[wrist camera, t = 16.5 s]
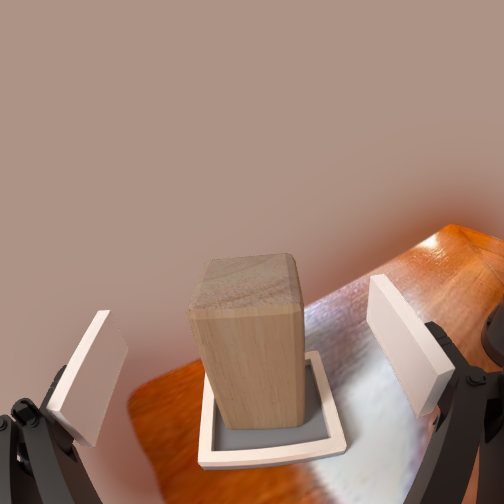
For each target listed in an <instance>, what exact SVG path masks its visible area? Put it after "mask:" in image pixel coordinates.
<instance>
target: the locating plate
mask: <svg viewBox="0 0 504 504" xmlns="http://www.w3.org/2000/svg"><path fill="white" fill-rule="evenodd" d="M346 446H347V444H346V441H345V437H344V434H343V430H342V427H341V423H340V420H339V417H338V413H337V410H336V406H335V403H334V400H333V396H332V393H331V390H330V386H329V383H328V380H327V376H326V373H325V370H324V367H323V364H322V360H321V357H320V354H319V351H318V350H315V351H309V352H305V417H304V422H303V424H302V425H301V426H299V427H294V428H281V429H262V430H231V429H228V428H226V426H225V423H224V421H223V418H222V415H221V413H220V410H219V407H218V405H217V402H216V399H215V397H214V394H213V391H212V388H211V386H210V383H209V380H208V377H207V374H206V373H205V383H204V394H203V405H202V416H201V428H200V440H199V453H198V463H199V464H200V466H201V467H202V468H203V470H230V469H249V468H261V467H272V466H280V465H288V464H295V463H302V462H308V461H313V460H319V459H324V458H329V457H334V456H338V455H342V454H344V452H345V449H346Z"/></svg>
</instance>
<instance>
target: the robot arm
mask: <svg viewBox="0 0 504 504" xmlns="http://www.w3.org/2000/svg"><path fill="white" fill-rule="evenodd" d="M366 321H367V323H368V324H369V326H370V328H371V330H372V332H373V333H374V335H375V337H376V339H377V341H378V343H379V344H380V346H381V348H382V350H383V352H384V354H385V356H386V358H387V359H388V361H389V363H390V365H391V367H392V369H393V371H394V373H395V375H396V377H397V379H398V381H399V383H400V385H401V387H402V389H403V391H404V393H405V395H406V397H407V399H408V401H409V403H410V405H411V407H412V409H413V412H414V414H415V416H416V418H420V417H422V416H425V415H427V414H430V413H432V412H433V411H434V409H435V407H436V405H438V406H439V408H440V410H441V411H440V413H439V414H438V416H437V418H436V419H435V421H434V423H433V425H435V428H434V431H433V434H432V437H431V439H430V442H429V445H428V448H427V451H426V453H425V456H424V458H423V461H422V463H421V466H420V468H419V471H418V473H417V475H416V478H415V480H414V482H413V484H412V486H411V489H410V491H409V493H408V495H407V497H406V499H405V501H404V503H403V504H461V503H462V500H463V498H464V495H465V492H466V489H467V486H468V483H469V480H470V477H471V473H472V470H473V466H474V463H475V459H476V455H477V451H478V447H479V478H478V491H477V500H476V504H504V295H503V298H502V299H501V301H500V302H499V303H498V305H497V306H496V307H495V309H494V310H493V311H492V313H491V314H490V315H489V317H488V318H487V320H486V322H485V324H484V327H483V329H482V333H481V341H482V345H483V347H484V349H485V351H486V353H487V354H488V356H489V357H490V358H491V359H492V360H493V361H494V362H495V363H496V364H498V365H499V366H501V367H503V369H502V371H499V372H492V373H486V372H485V371H484V370H483V369H481V368H479V367H476V366H470V365H469V364H468V362H467V361H466V359H465V358H464V357H463V355H462V354H461V353H460V351H459V350H458V349H457V347H456V346H455V345H454V343H452V341H451V339H450V338H449V337H447V334H446V333H445V331H444V330H443V329H442V328H441V327H440V326H439V325H437V324H435V323H434V322H432V321H431V322H428V323H425V324H424V323H423V322H422V321H421V319H420V318H419V317H418V315H417V314H416V313H415V312H414V310H413V309H412V308H411V306H410V305H409V304H408V303H407V301H406V300H405V299H404V297H403V296H402V295H401V294H400V292H399V291H398V290H397V289H396V287H395V286H394V285H393V284H392V283H391V281H390V280H389V279H388V278H387V276H386V275H385V274H379V275H374V276H370V288H369V299H368V308H367V317H366ZM128 350H129V348H128V346H127V344H126V342H125V340H124V338H123V336H122V334H121V332H120V330H119V328H118V326H117V324H116V322H115V319H114V317H113V315H112V313H111V310H105V311H98V313H97V314H96V316H95V318H94V319H93V321H92V323H91V325H90V326H89V328H88V330H87V331H86V333H85V335H84V336H83V338H82V340H81V342H80V344H79V345H78V347H77V349H76V351H75V352H74V354H73V356H72V358H71V360H70V362H69V363H68V365H64V366H63V368H61V369H60V370H59V372H58V373H57V375H56V377H55V378H54V382H52V384H51V386H50V387H51V388H49V390H48V392H47V394H46V396H45V398H44V400H43V402H42V404H41V406H40V408H39V409H38V408H37V407H36V405H35V404H34V403H33V402H32V401H31V400H30V399H29V398H22V399H20V400H18V401H17V402H16V403H15V404H14V405H13V407H12V409H11V415H12V417H13V418H14V419H15V420H16V422H14V421H13V420H12V419H11V418H10V417H9V416H8V415H2V416H0V504H103V503H102V502H101V500H100V498H99V497H98V494H97V492H96V490H95V489H94V487H93V485H92V483H91V481H90V479H89V477H88V474H87V473H86V470H85V468H84V466H83V464H82V462H81V459H80V457H79V454H78V452H77V450H76V448H75V446H74V445H73V444H72V443H73V440H74V439H75V440H76V441H77V442H78V443H79V444H80V445H82V446H87V447H91V448H95V445H96V442H97V438H98V435H99V432H100V428H101V426H102V422H103V419H104V416H105V413H106V410H107V407H108V404H109V402H110V399H111V396H112V393H113V390H114V387H115V385H116V382H117V379H118V376H119V374H120V371H121V368H122V366H123V363H124V361H125V358H126V355H127V353H128ZM17 455H19V456H20V462H19V461H18V460H17Z"/></svg>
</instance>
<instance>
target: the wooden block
mask: <svg viewBox="0 0 504 504" xmlns="http://www.w3.org/2000/svg"><path fill="white" fill-rule="evenodd" d="M187 315H188V318H189V322H190V325H191V328H192V331H193V335H194V338H195V341H196V344H197V347H198V350H199V353H200V356H201V359H202V362H203V365H204V368H205V371H206V374H207V377H208V380H209V383H210V386H211V388H212V391H213V394H214V397H215V399H216V402H217V405H218V407H219V410H220V413H221V415H222V418H223V421H224V423H225V426H226V428H228V429H231V430H262V429H281V428H294V427H299V426H301V425H302V424H303V422H304V417H305V330H304V303H303V298H302V292H301V287H300V282H299V277H298V272H297V267H296V262H295V260H294V258H293V256H292V255H291V254H287V253H282V254H271V255H260V256H251V257H250V256H249V257H238V258H228V259H217V260H210V261H208V262H206V263H205V264H204V267H203V269H202V272H201V274H200V277H199V279H198V282H197V285H196V287H195V290H194V292H193V295H192V298H191V300H190V303H189V306H188V311H187Z"/></svg>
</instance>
